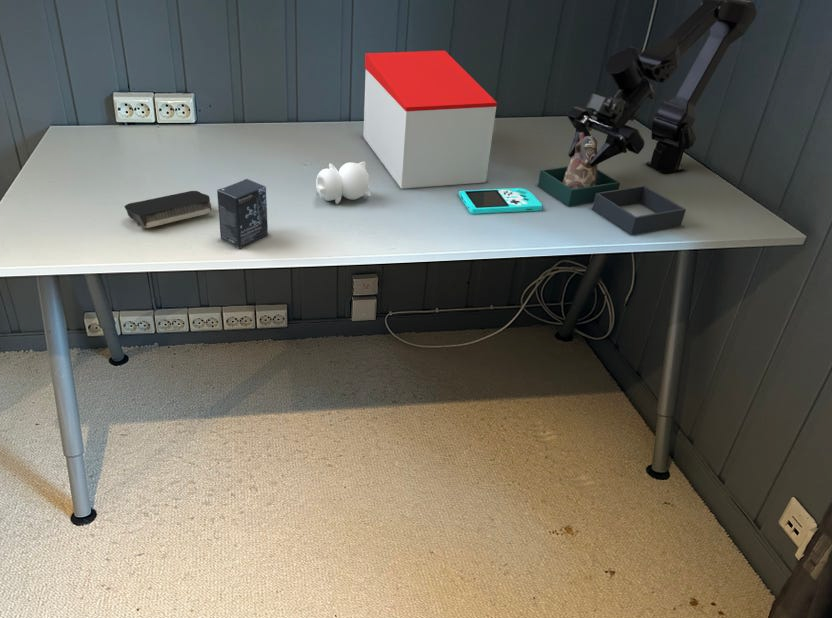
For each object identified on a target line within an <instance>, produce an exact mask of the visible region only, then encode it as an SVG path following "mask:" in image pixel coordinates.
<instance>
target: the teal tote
mask: <svg viewBox="0 0 832 618" xmlns="http://www.w3.org/2000/svg"><path fill="white" fill-rule="evenodd" d="M567 168H568V165H566V166H561V167H551V168H547V169H540V171H539V177H538V183H537V187H539V188H540V189H542V190H543V191H545V192H546V193H547V194H549V195H551V196H552V197H554V198H555V199H557V200H558V201H559V202H561V203H562V204H564V205H565V206H567V207H574V206H580V205H585V204H586V205H587V204H593V203H594V198H595V194H596V193H600V192H607V191H613V190H619V189H620V186H621V181H618V180H617V179H616V178H613V177H612V176H610V175H608V174H606V173H605V172H603V171H601V170H600V169H598V168H597V173H596V186H589V187H583V188H576V189H571V188H570V187H568V186H567V185H565V184H563V179H564V176H565V173H566V170H567Z"/></svg>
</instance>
